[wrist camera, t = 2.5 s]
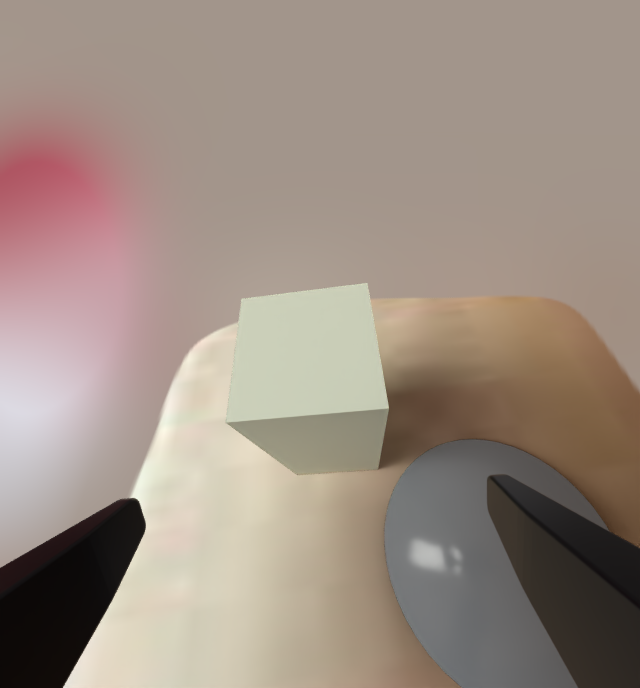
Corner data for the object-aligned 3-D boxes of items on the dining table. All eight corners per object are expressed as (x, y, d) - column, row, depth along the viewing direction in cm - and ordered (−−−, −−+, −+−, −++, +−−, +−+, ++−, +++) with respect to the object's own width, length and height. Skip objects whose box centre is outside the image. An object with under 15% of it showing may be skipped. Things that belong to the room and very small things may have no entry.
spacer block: (377, 469, 18) (389, 408, 9) (297, 475, 18) (225, 422, 9) (367, 392, 21) (367, 282, 11) (296, 399, 21) (241, 298, 12)
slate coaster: (670, 754, 11) (684, 765, 11) (377, 670, 14) (377, 676, 13) (587, 455, 17) (593, 453, 16) (388, 430, 19) (389, 428, 19)
